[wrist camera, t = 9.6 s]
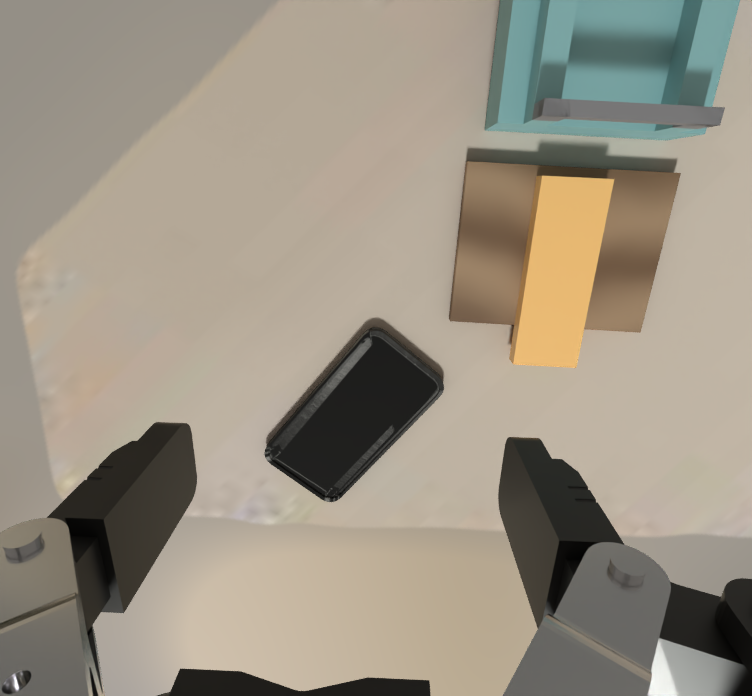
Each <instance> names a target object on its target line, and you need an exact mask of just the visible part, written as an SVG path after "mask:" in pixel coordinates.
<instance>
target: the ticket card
mask: <svg viewBox="0 0 752 696" xmlns="http://www.w3.org/2000/svg"><path fill="white" fill-rule="evenodd" d="M613 184H614V179H602V178H581V177H560V176H537V178H536V184H535V191H534V198H533V204H532V211H531V218H530V224H529V231H528V237H527V244H526V251H525V257H524V264H523V271H522V277H521V284H520V291H519V297H518V304H517V311H516V317H515V324H514V331H513V337H512V344H511V351H510V357H509V359H510V360H511V362H512V363H513V364H516V365H534V366H553V367H571V368H576V366H577V361H578V356H579V351H580V347H581V342H582V337H583V332H584V327H585V322H586V317H587V312H588V307H589V302H590V297H591V292H592V287H593V282H594V277H595V272H596V268H597V263H598V258H599V253H600V248H601V243H602V238H603V233H604V228H605V223H606V218H607V213H608V208H609V203H610V198H611V193H612V189H613Z"/></svg>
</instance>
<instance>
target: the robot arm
mask: <svg viewBox="0 0 752 696" xmlns="http://www.w3.org/2000/svg"><path fill="white" fill-rule="evenodd" d="M196 484H197V473H196V465H195V457H194V449H193V441H192V433H191V429H190V426H189V425H188V424H186V423H165V422H156V423H154V424H153V425H152V426H151V427H150V428H149V429H148V430H147V431H146V432H145V434H144V435H143V436H142V437H141V438H140V439H139V440H138V441H131V442H129V443H128V444H126V445H124V446H122V447H121V448H119V449H117V450H115V451H114V452H112V453H111V454H110V455H109V456H108V457H107V458H106V459H105V460H104V461H103V462H102V463H101V464H100V465H99V468H98V469H95V470H94V471H93V472H92V473H91V474H90V475H89V476H88V477H87V480H84V481H83V482H82V483H81V484H80V485H79V486H78V487H77V488H76V489H75V490H74V491H73V492H72V493H71V494H70V495H69V496H68V497H67V498H66V499H65V500H64V501H63V502H62V503H61V504H60V505H59V506H58V507H57V508H56V509H55V510H54V511H53V512H52V513H51V514H50V515H49V516H48V517H47V518H40V519H34V520H29V521H26V522H23V523H20V524H17V525H14V526H12V527H10V528H8V529H6V530H4V531H2V532H0V696H105V691H104V685H103V680H102V674H101V668H100V662H99V656H98V651H97V644H96V638H95V633H94V629H93V623H94V621H95V620H96V619H97V617H98V615H99V614H100V612H114V613H124V612H125V610H126V609H127V607H128V605H129V604H130V602H131V600H132V598H133V597H134V595H135V594H136V592H137V590H138V588H139V587H140V585H141V584H142V582H143V581H144V579H145V577H146V576H147V574H148V572H149V570H150V569H151V567H152V566H153V564H154V562H155V560H156V559H157V557H158V556H159V554H160V552H161V551H162V549H163V547H164V546H165V544H166V543H167V541H168V539H169V538H170V536H171V534H172V532H173V531H174V529H175V528H176V526H177V524H178V523H179V521H180V519H181V518H182V516H183V514H184V513H185V511H186V510H187V508H188V506H189V505H190V503H191V501H192V499H193V497H194V494H195V490H196ZM498 499H499V510H500V514H501V518H502V521H503V524H504V527H505V530H506V533H507V536H508V539H509V542H510V545H511V548H512V551H513V554H514V557H515V560H516V563H517V566H518V569H519V573H520V575H521V579H522V582H523V585H524V588H525V591H526V594H527V597H528V600H529V603H530V606H531V609H532V612H533V615H534V618H535V621H536V624H537V627H538V630H537V632H536V634H535V636H534V638H533V639H532V641H531V643H530V645H529V647H528V649H527V651H526V653H525V655H524V657H523V658H522V660H521V662H520V664H519V666H518V668H517V670H516V672H515V674H514V675H513V678H512V679H511V681H510V683H509V685H508V687H507V689H506V691H505V692H504V694H503V696H752V579H735V580H732V581H730V582H729V583H728V584H727V585H726V586H725V589H724V591H723V593H722V596H721V597H719V596H715V595H712V594H708V593H705V592H701V591H698V590H694V589H691V588H686V587H684V586H680V585H677V584H674V583H672V582H670V580H669V578H668V576H667V574H666V573H665V571H664V570H663V569H662V568H661V567H660V566H659V565H658V564H657V563H656V562H655V561H654V560H653V559H651V558H650V557H649V556H647V555H646V554H644V553H642V552H640V551H639V550H637V549H634V548H632V547H629V546H626V545H624V543H623V542H622V540H621V538H620V537H619V535H618V534H617V532H616V531H615V529H614V527H613V526H612V524H611V523H610V521H609V520H608V518H607V516H606V515H605V513H604V512H603V510H602V509H601V507H600V505H599V504H598V503H596V499H595V498H594V496H593V494H592V493H591V491H590V490H588V487H587V485H586V483H585V482H584V480H583V479H582V477H581V476H580V474H579V472H577V471H576V470H575V469H574V468H572V467H571V466H570V465H568V464H567V463H566V462H565V461H563V460H562V459H552V458H551V457H550V455H549V453H548V451H547V450H546V448H545V446H544V444H543V443H542V441H541V440H540V439H539V438H519V437H509V438H508V439H507V441H506V444H505V450H504V457H503V464H502V471H501V477H500V484H499V494H498ZM158 696H430V684H429V681H428V680H407V679H386V678H364V679H359V680H355V681H350V682H346V683H341V684H337V685H332V686H327V687H323V688H318V689H314V690H309V691H297V690H293V689H290V688H287V687H284V686H282V685H279V684H276V683H272V682H270V681H267V680H264V679H261V678H258V677H255V676H252V675H250V674H246V673H243V672H239V671H219V670H197V669H180V671H179V673H178V675H177V677H176V680H175V682H174V685H173V687H172V689H171V692H169V693H164V694H161V695H158Z"/></svg>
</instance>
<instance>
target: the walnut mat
mask: <svg viewBox="0 0 752 696" xmlns="http://www.w3.org/2000/svg"><path fill="white" fill-rule="evenodd" d="M680 174H681V173H668V172H650V171H632V170H614V169H596V168H578V167H560V166H542V165H525V164H507V163H489V162H471V161H467V162H466V167H465V176H464V185H463V195H462V204H461V213H460V222H459V231H458V240H457V250H456V259H455V268H454V277H453V286H452V295H451V305H450V314H449V319H450V321H458V322H475V323H491V324H508V325H514V324H515V317H516V311H517V304H518V297H519V291H520V284H521V277H522V271H523V264H524V257H525V251H526V244H527V237H528V231H529V224H530V218H531V211H532V204H533V198H534V191H535V184H536V178H537V176H560V177H581V178H602V179H614V184H613V189H612V193H611V198H610V203H609V208H608V213H607V218H606V223H605V228H604V233H603V238H602V243H601V248H600V253H599V258H598V263H597V268H596V272H595V277H594V282H593V287H592V292H591V297H590V302H589V307H588V312H587V317H586V322H585V327H584V329H591V330H608V331H624V332H641V328H642V324H643V320H644V316H645V312H646V308H647V305H648V301H649V297H650V293H651V289H652V285H653V281H654V277H655V273H656V269H657V265H658V261H659V257H660V253H661V249H662V245H663V241H664V237H665V233H666V229H667V225H668V221H669V218H670V214H671V210H672V206H673V202H674V198H675V194H676V190H677V186H678V182H679V178H680Z"/></svg>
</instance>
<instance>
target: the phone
mask: <svg viewBox="0 0 752 696" xmlns="http://www.w3.org/2000/svg"><path fill="white" fill-rule="evenodd" d="M443 390H444V384H443V381H442V378H441V376H440V375H439V374H438V373H437V372H435V371H434V370H433V369H432V368H430V367H429V366H428V365H427V364H426V363H424V362H423V361H422V360H421V359H419V358H418V357H417V356H416V355H414V354H413V353H412V352H411V351H409V350H408V349H407V348H406V347H405V346H403V345H402V344H401V343H400V342H398V341H397V340H396V339H395V338H393V337H392V336H391V335H390V334H388V333H387V332H386V331H385V330H383V329H381V328H371V329H368V330H367V331H366V332H364V333H363V335H362V336H361V337H360V338H359V339H358V340H357V341H356V343H355V344H354V345H353V346H352V347H351V348H350V350H349V351H348V352H347V353H346V354H345V355H344V356H343V358H342V359H341V360H340V361H339V362H338V363H337V364H336V366H335V367H334V368H333V369H332V370H331V371H330V373H329V374H328V375H327V376H326V377H325V378H324V379H323V381H322V382H321V383H320V384H319V385H318V386H317V388H316V389H315V390H314V391H313V392H312V393H311V394H310V396H309V397H308V398H307V399H306V400H305V401H304V402H303V404H302V405H301V406H300V407H299V408H298V409H297V411H296V412H295V413H294V414H293V415H292V416H291V417H290V419H289V420H288V421H287V422H286V423H285V424H284V425H283V427H282V428H281V429H280V430H279V431H278V432H277V434H276V435H275V436H274V437H273V438H272V439H271V440H270V442H269V443H268V445H267V447H266V449H265V458H266V459H267V461H268V462H269V463H270V464H272V465H273V466H274V467H276V468H277V469H279V470H280V471H282V472H283V473H285V474H286V475H287V476H289V477H290V478H292V479H293V480H295V481H296V482H297V483H299V484H300V485H302V486H303V487H305V488H306V489H308V490H309V491H310V492H312V493H313V494H315V495H316V496H318V497H319V498H320V499H322V500H324V501H327V502H334V501H337V500H338V499H340V498H341V497H342V496H343V495H344V494H345V493H346V492H347V491H348V490H349V489H350V488H351V487H352V486H353V485H354V484H355V483H356V482H357V481H358V480H359V479H360V478H361V477H362V476H363V475H364V474H365V472H366V471H367V470H368V469H369V468H370V467H371V466H372V465H373V464H374V463H375V462H376V461H377V460H378V459H379V458H380V457H381V456H382V455H383V454H384V453H385V452H386V451H387V450H388V449H389V448H390V447H391V446H392V445H393V444H394V443H395V442H396V441H397V440H398V439H399V438H400V437H401V436H402V435H403V434H404V433H405V432H406V431H407V430H408V429H409V428H410V427H411V426H412V425H413V424H414V423H415V422H416V421H417V420H418V418H419V417H420V416H421V415H422V414H423V413H424V412H425V411H426V410H427V409H428V408H429V407H430V406H431V405H432V404H433V403H434V402H435V401H436V400H437V399H438V398H439V397H440V396H441V394H442V393H443Z"/></svg>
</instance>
